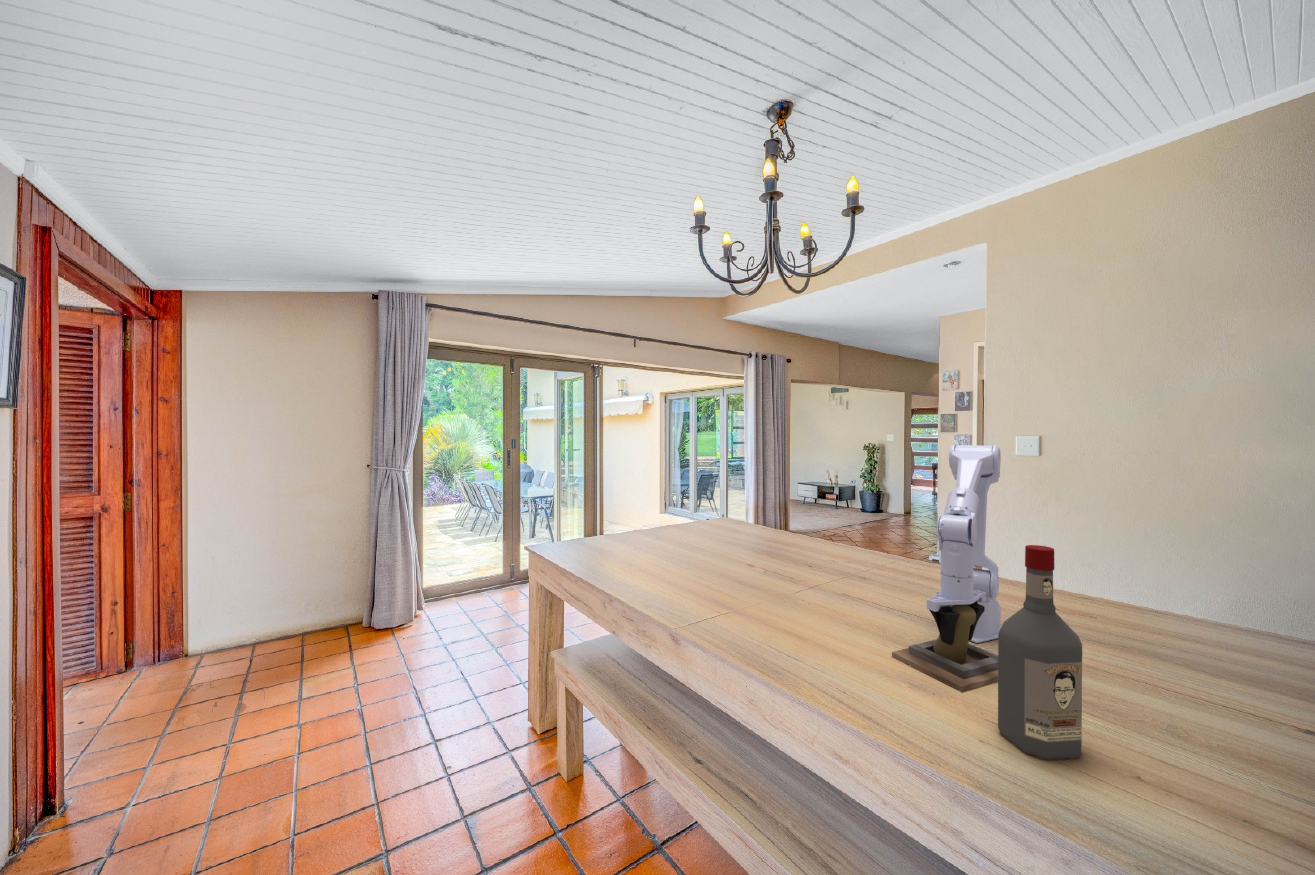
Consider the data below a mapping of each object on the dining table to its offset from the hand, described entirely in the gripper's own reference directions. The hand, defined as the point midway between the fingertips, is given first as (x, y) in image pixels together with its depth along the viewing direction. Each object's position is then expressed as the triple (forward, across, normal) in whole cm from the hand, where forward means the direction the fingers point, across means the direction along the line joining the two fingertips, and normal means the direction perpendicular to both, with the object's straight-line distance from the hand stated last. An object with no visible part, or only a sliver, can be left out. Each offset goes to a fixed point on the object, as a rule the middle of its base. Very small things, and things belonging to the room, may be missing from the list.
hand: (956, 640), depth 106 cm
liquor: (+5, +12, +23) cm, 26 cm away
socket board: (+5, 0, 0) cm, 5 cm away
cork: (+3, 0, -1) cm, 4 cm away
